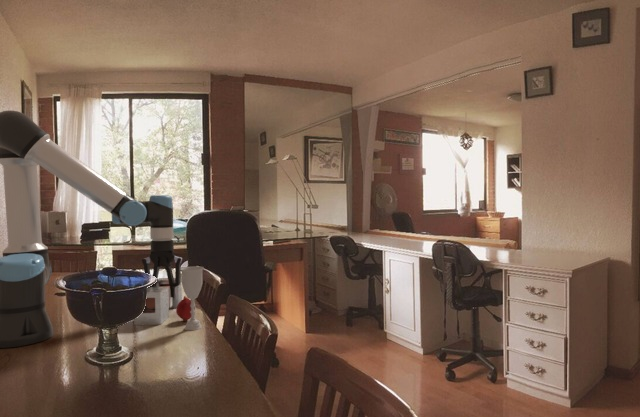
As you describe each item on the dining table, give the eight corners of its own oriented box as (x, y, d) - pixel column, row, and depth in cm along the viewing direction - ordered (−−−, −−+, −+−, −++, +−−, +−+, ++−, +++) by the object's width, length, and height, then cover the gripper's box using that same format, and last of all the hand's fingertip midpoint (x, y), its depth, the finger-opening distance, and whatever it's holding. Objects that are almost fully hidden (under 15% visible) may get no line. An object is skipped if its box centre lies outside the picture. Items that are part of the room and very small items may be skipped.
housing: (160, 324, 135) (160, 292, 135) (134, 325, 135) (133, 293, 134) (168, 316, 144) (168, 286, 144) (144, 317, 144) (143, 287, 143)
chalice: (197, 331, 127) (196, 270, 126) (176, 330, 128) (175, 269, 128) (209, 324, 134) (208, 266, 133) (188, 323, 135) (187, 266, 135)
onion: (198, 318, 141) (197, 294, 141) (191, 323, 135) (190, 298, 135) (181, 318, 142) (180, 294, 142) (173, 323, 136) (172, 297, 136)
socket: (178, 307, 157) (178, 279, 156) (155, 308, 156) (155, 280, 156) (181, 304, 161) (181, 277, 161) (159, 305, 160) (159, 278, 160)
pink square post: (159, 307, 140) (158, 295, 140) (146, 308, 140) (146, 295, 140) (174, 295, 158) (173, 284, 158) (162, 295, 158) (162, 284, 158)
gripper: (189, 238, 155) (190, 303, 156) (140, 239, 154) (141, 304, 155) (184, 240, 148) (185, 308, 148) (132, 241, 147) (134, 310, 147)
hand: (163, 306), depth 151 cm, fingers closed on pink square post, 4 cm apart
